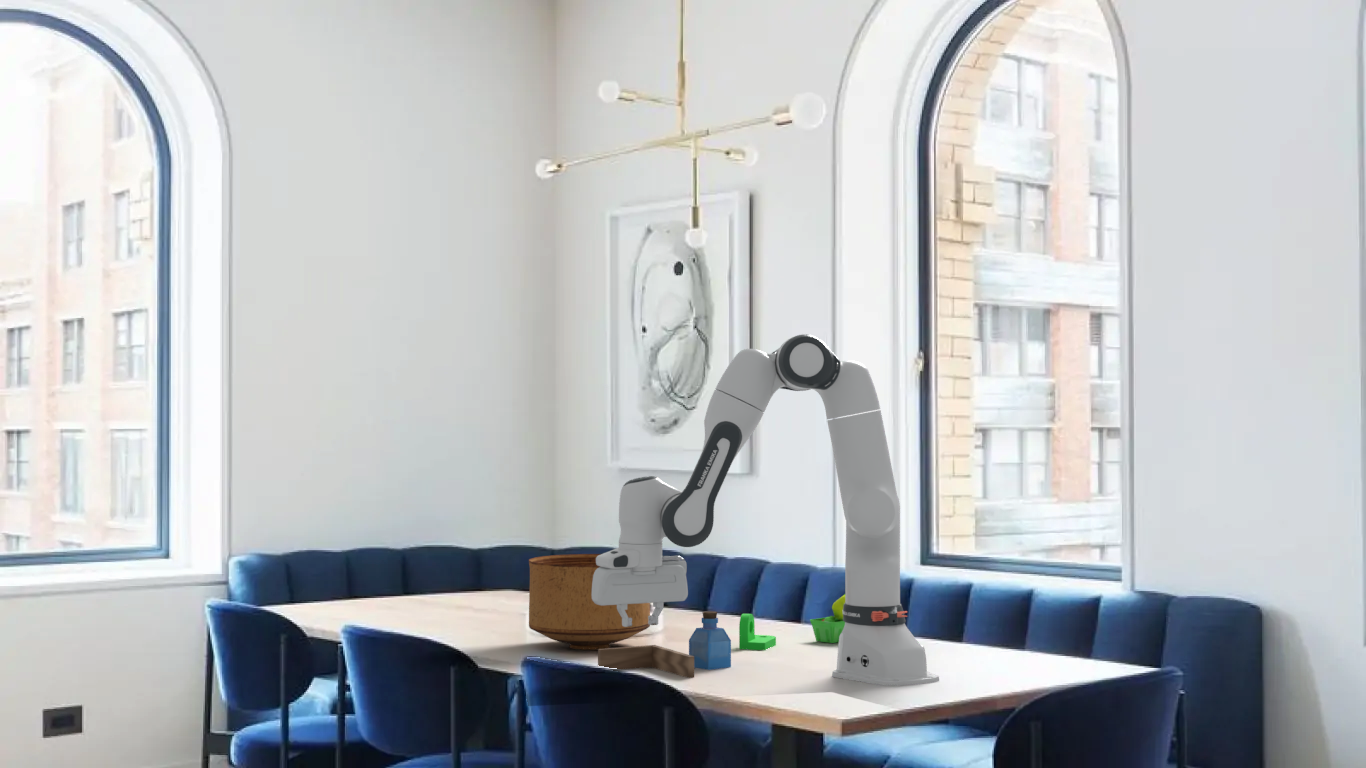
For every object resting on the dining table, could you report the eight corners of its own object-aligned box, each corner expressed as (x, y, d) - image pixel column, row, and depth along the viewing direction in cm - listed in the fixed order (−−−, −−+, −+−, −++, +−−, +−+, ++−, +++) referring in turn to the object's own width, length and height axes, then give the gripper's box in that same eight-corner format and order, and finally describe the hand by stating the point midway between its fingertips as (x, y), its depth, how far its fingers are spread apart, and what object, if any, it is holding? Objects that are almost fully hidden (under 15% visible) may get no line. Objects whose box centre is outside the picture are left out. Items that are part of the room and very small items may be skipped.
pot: (518, 641, 391) (518, 555, 391) (633, 636, 398) (633, 552, 399) (541, 658, 364) (541, 566, 365) (664, 653, 372) (664, 563, 372)
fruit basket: (839, 636, 399) (839, 589, 399) (868, 640, 392) (868, 592, 392) (808, 641, 391) (808, 592, 391) (837, 645, 384) (837, 596, 384)
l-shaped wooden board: (694, 681, 334) (694, 656, 334) (635, 686, 328) (635, 660, 328) (654, 668, 350) (654, 644, 350) (598, 673, 344) (597, 649, 344)
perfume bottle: (730, 670, 349) (730, 612, 349) (708, 673, 345) (708, 614, 345) (711, 666, 353) (711, 609, 353) (689, 669, 349) (688, 612, 349)
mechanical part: (765, 651, 375) (765, 616, 376) (739, 650, 377) (739, 615, 377) (778, 644, 387) (778, 609, 387) (753, 643, 389) (753, 608, 389)
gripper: (679, 553, 345) (679, 620, 345) (588, 557, 336) (588, 626, 336) (693, 556, 340) (693, 624, 339) (601, 560, 330) (600, 630, 330)
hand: (640, 625), depth 338 cm, fingers open, 4 cm apart
